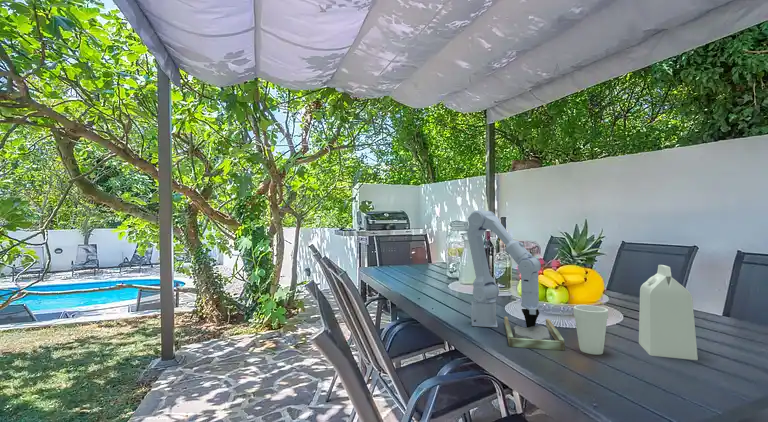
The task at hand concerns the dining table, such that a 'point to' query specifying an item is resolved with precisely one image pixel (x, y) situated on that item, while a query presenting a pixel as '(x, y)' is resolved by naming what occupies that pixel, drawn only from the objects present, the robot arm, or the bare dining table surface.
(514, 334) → the stone block
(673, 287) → the milk
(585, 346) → the foam cup
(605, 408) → the dining table surface
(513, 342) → the channel
